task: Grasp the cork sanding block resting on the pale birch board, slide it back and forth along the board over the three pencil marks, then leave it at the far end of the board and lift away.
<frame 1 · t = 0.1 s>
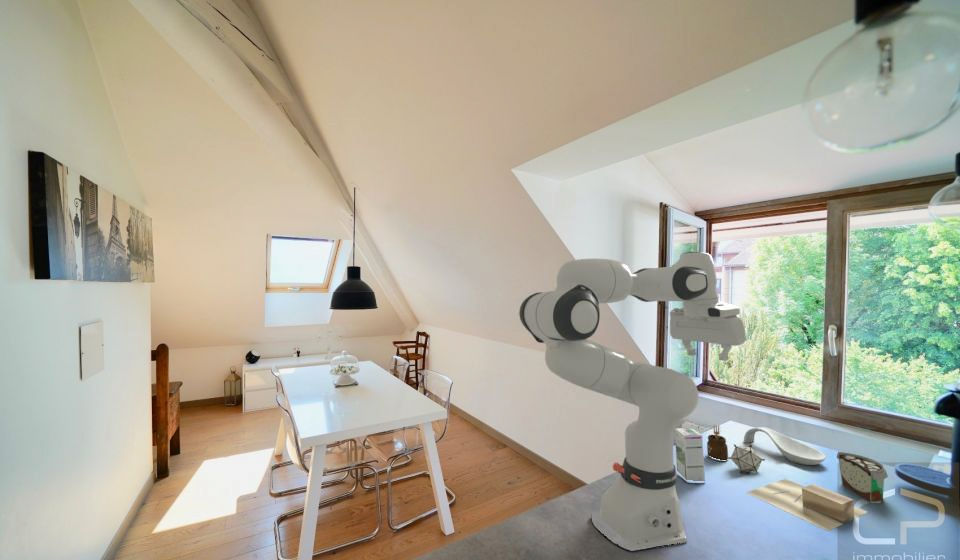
hand: (707, 357, 101), 39 cm above the kitchen counter, tool pointing down, fingers open, 8 cm apart
syrup box: (690, 479, 110), on the kitchen counter
game die: (746, 472, 114), on the kitchen counter
sanding block: (827, 511, 91), point 1 cm above the kitchen counter, touching board
food container: (869, 499, 98), on the kitchen counter
board: (804, 506, 95), on the kitchen counter
utensil holder: (717, 458, 124), on the kitchen counter
spoon rest: (781, 455, 126), on the kitchen counter
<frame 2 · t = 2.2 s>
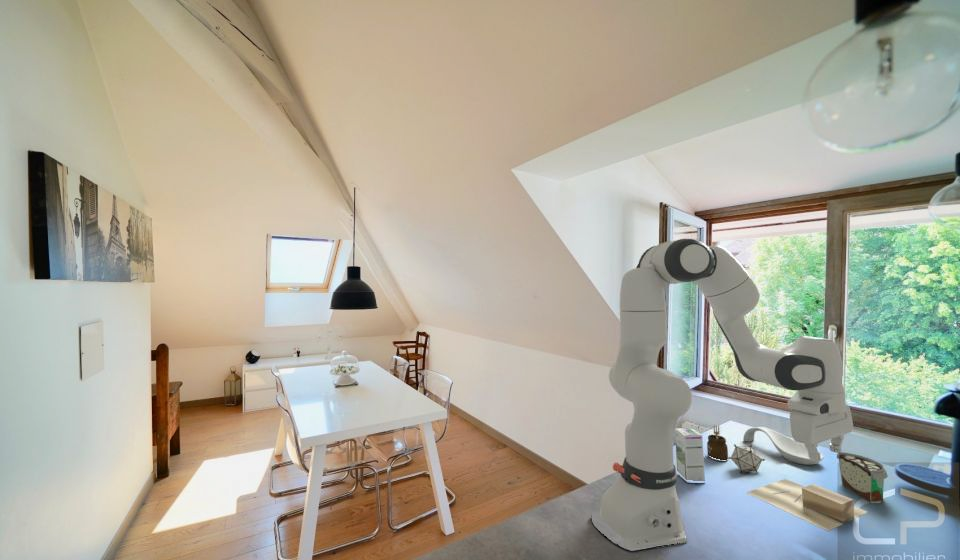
hand: (825, 455, 91), 15 cm above the kitchen counter, tool pointing down, fingers open, 8 cm apart
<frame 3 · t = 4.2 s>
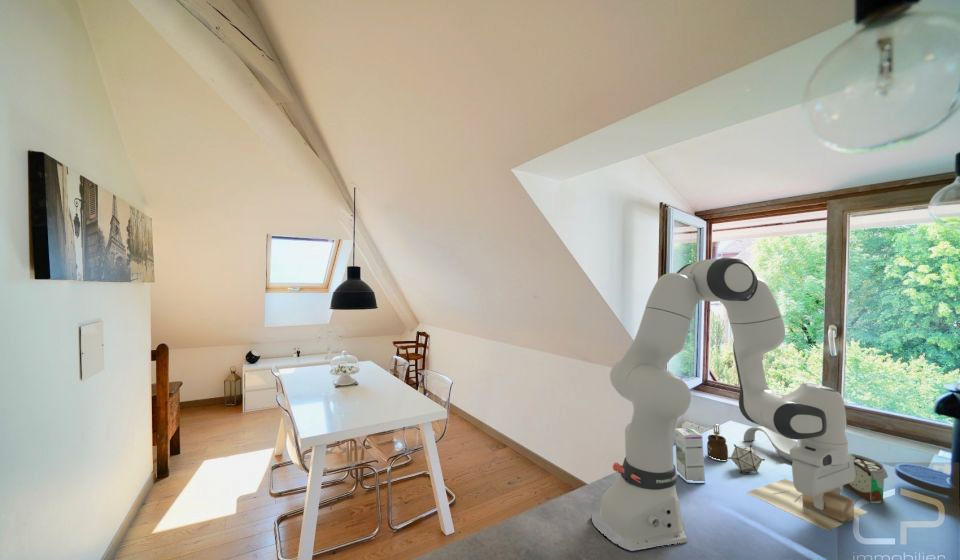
hand: (827, 505, 91), 3 cm above the kitchen counter, tool pointing down, fingers closed on sanding block, 5 cm apart
sanding block: (827, 511, 91), point 1 cm above the kitchen counter, touching board, gripper
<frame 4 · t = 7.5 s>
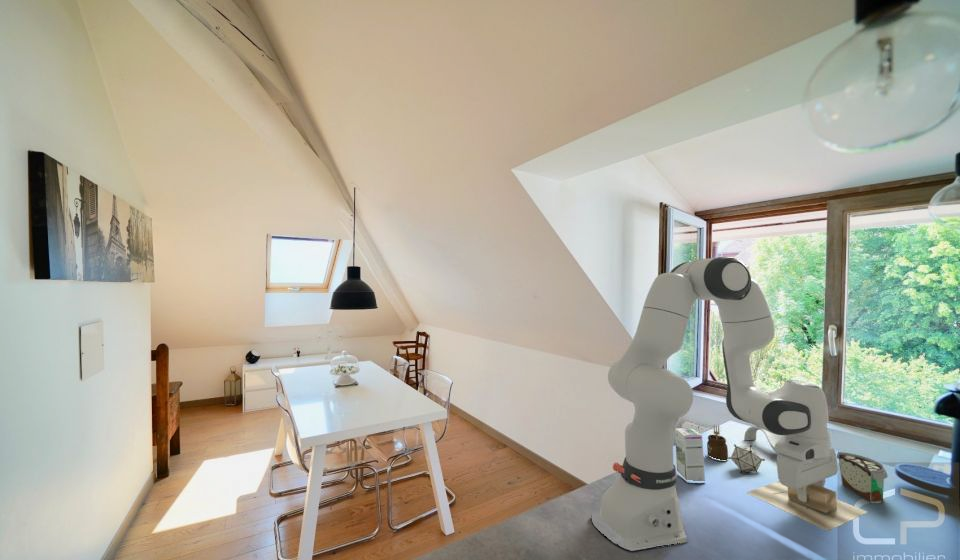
hand: (810, 497, 94), 3 cm above the kitchen counter, tool pointing down, fingers closed on sanding block, 5 cm apart
sanding block: (812, 504, 94), point 1 cm above the kitchen counter, touching gripper
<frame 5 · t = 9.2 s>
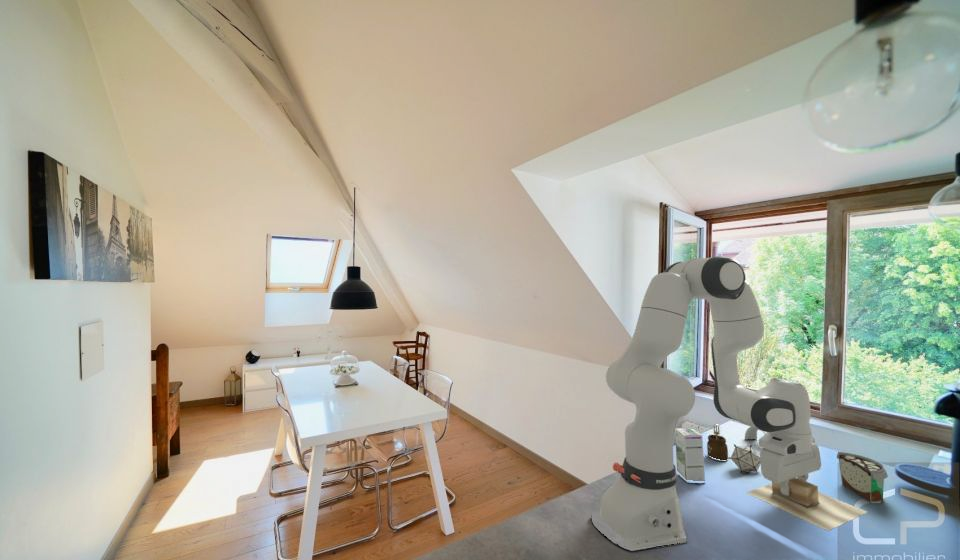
hand: (793, 491, 97), 3 cm above the kitchen counter, tool pointing down, fingers closed on sanding block, 5 cm apart
sanding block: (794, 497, 97), point 1 cm above the kitchen counter, touching gripper
when the fingers open (3 cm above the kitchen counter, at t = 10.7 s): sanding block stays where it is, resting on board.
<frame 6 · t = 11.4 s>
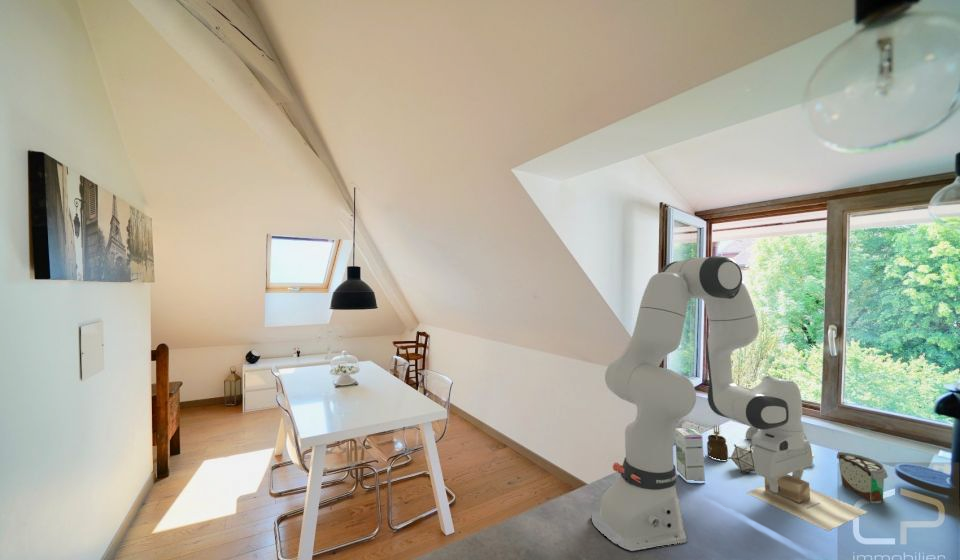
hand: (785, 487, 99), 3 cm above the kitchen counter, tool pointing down, fingers open, 8 cm apart
sanding block: (787, 494, 99), point 1 cm above the kitchen counter, touching board
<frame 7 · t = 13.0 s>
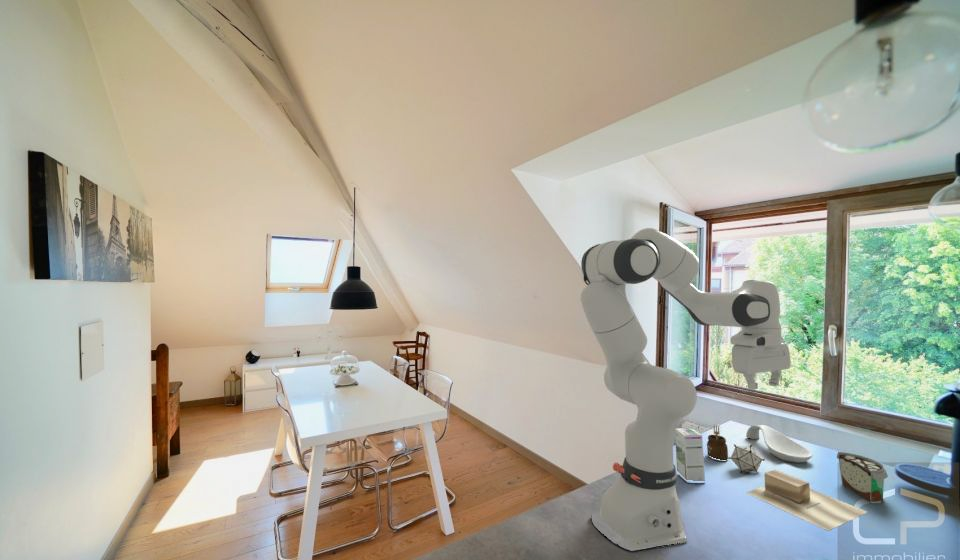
hand: (763, 387, 101), 30 cm above the kitchen counter, tool pointing down, fingers open, 8 cm apart
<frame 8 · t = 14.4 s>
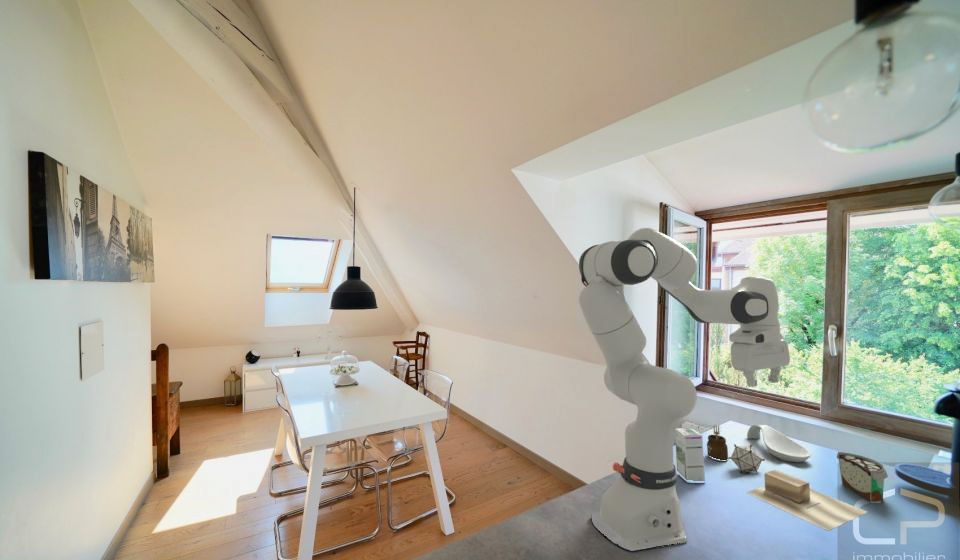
hand: (763, 384, 101), 31 cm above the kitchen counter, tool pointing down, fingers open, 8 cm apart
at the end: sanding block inside the target area (0.2 cm from its centre), point 1.2 cm above the kitchen counter; sanding block tilted 0°; the gripper is holding nothing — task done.
